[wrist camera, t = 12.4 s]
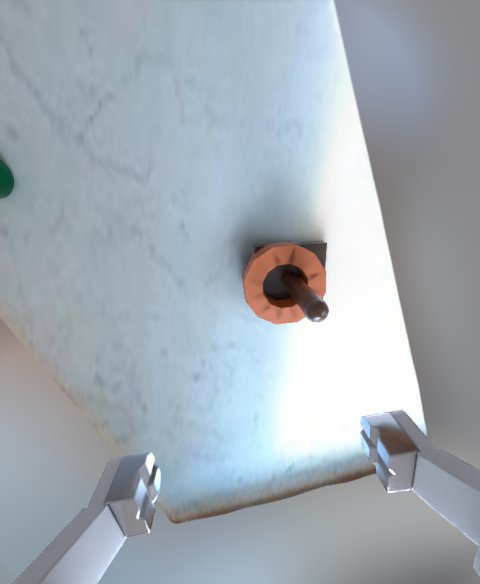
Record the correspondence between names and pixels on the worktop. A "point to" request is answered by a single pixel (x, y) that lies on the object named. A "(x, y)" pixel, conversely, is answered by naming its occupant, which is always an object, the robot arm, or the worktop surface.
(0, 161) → the soda can
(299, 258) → the ring
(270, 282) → the peg stand
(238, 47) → the worktop surface
